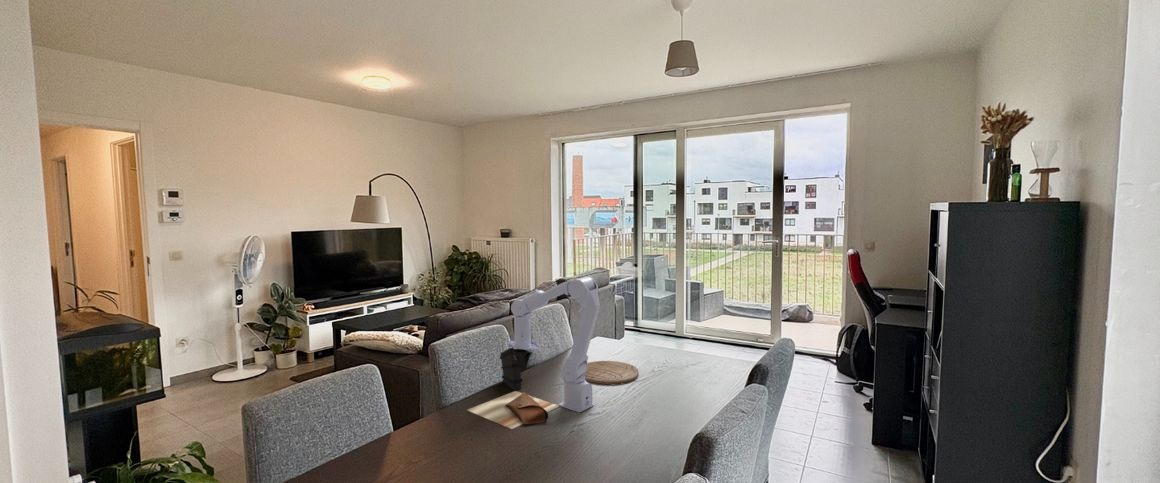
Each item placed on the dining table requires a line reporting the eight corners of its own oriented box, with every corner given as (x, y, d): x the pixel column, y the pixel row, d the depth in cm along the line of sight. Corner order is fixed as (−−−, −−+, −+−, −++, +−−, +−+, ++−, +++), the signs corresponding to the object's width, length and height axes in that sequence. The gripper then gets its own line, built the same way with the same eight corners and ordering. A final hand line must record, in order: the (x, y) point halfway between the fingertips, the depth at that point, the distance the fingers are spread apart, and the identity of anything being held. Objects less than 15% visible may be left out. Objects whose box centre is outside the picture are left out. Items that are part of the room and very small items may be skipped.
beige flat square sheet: (560, 406, 161) (560, 406, 161) (511, 429, 144) (511, 428, 144) (515, 391, 175) (515, 390, 175) (466, 410, 158) (466, 409, 158)
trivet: (599, 361, 212) (599, 357, 211) (649, 372, 197) (649, 367, 197) (564, 377, 191) (564, 372, 191) (618, 390, 177) (618, 385, 177)
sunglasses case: (502, 404, 161) (512, 386, 163) (519, 411, 164) (528, 393, 166) (524, 425, 146) (534, 404, 147) (542, 431, 149) (551, 411, 150)
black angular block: (516, 388, 173) (509, 347, 178) (504, 393, 184) (497, 354, 188) (526, 386, 175) (518, 346, 180) (513, 391, 186) (506, 353, 190)
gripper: (500, 331, 171) (500, 368, 172) (528, 338, 162) (529, 377, 163) (514, 327, 177) (515, 363, 178) (543, 333, 168) (543, 371, 168)
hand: (522, 369), depth 171 cm, fingers closed
